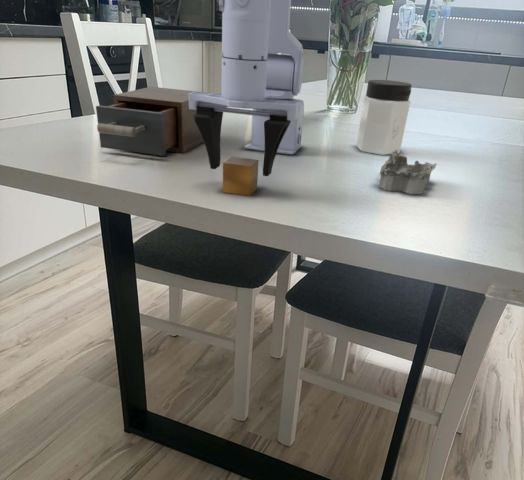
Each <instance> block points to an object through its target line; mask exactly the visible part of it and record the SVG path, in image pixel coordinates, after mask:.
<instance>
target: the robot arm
mask: <svg viewBox="0 0 524 480" xmlns="http://www.w3.org/2000/svg"><path fill="white" fill-rule="evenodd" d="M218 7H219V12H221V13H222V14H221V17H222V18H221V88H220V89H221V92H220V93H219V92H218V93H217V92H207V93H203V92H204V91H197V92H191V93H189V109H192V110H197V112H196V114H195V115H194V121H195V123H196V125H197V127H198V129H199V131H200V133H201V135H202V138H203V140H204V142H203V143H204V145H205V149H206V153H207V157H208V161H209V167H210V169H212V170H216V169H218V168H219V167H221V136H222V135H221V133H222V123H223V117H224V116H223V115H224V113H227V114H228V113H229V114H238V115H246V116H251V138H250V142H248V143H247V144H245V145H244V146H243V147H244V149H245V150H251V151H252V150H253V151H260V152H264V154H263V164H262V176H263V177H269V176H270V175H271V174H272V171H273V170H272V169H273V166H274V162H275V158H276V155H277V154H284V155H295V154H296V152H298V150H300V148H301V147H302V135H303V125H304V117H305V116H304V115H305V103H304V100H302V99H297V98H294V97H296V96H298V95H299V94H300V93H301V90H302V83H303V76H304V75H303V74H304V48H303V44H302V43H301V42H300V41H299V40H298V39H297V38H296V37H295V35H293V33H292V32H291V31H290V24H291V10H292V9H291V8H292V0H218Z"/></svg>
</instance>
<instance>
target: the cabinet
mask: <svg viewBox="0 0 524 480" xmlns="http://www.w3.org/2000/svg"><path fill="white" fill-rule="evenodd" d="M191 92H198V91H197V90H188V89H187V90H186V89H177V88H167V87H158V86H148V87H143V88H138V89H135V90H130V91H125V92H121V93H116V94H113V103H114V104H118V103H122V102H126V101H128V102H136V103H145V104H154V105H163V106H172V107H177V111H178V138H179V144H177V145H175V146H173V147H171V148H169V149H167V150H166V152H170V153H171V152H172V153H178V154H184V153H186V152H188V151H190V150H191V149H194V148H195V147H197V146H199V145H201V144H203V143H204V140H203V138H202V135H201V133H200V131H199V129H198V127H197V125H196V123H195V121H194V115H195V114H196V112H197V110H192V109H189V93H191ZM202 92H203V93H208V92H206V91H205V92H204V91H202ZM114 104H113V105H114Z"/></svg>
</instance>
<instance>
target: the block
mask: <svg viewBox="0 0 524 480" xmlns="http://www.w3.org/2000/svg"><path fill="white" fill-rule="evenodd" d="M259 161H260V160H259V159H254V158H247V157H241V156H240V157H238V156H230V157H229V158H228V159H226V160H225V161H224V162H222V193H226V194H232V195H233V194H234V195H241V196H247V197H249V196H251V195H252V194H253V193H254V192H256V190H257V189H258V181H259V166H260V165H259Z"/></svg>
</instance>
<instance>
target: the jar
mask: <svg viewBox="0 0 524 480" xmlns="http://www.w3.org/2000/svg"><path fill="white" fill-rule="evenodd" d="M366 87H367V88H366V93H365V95H364V96H363V102H362V107H361V113H360V119H359V120H360V121H359V125H358V132H357V139H356V143H355V144H356V147H357V148H358V149H359V150H360V151H361V152H362V153H369V154H375V155H380V156H385V155H391V153H393V151H395V150H397V154H400V152H401V147H402V143H403V137H404V133H405V129H406V125H407V120H408V115H409V109H410V107H411V106H410V105H411V100H410V97H411V93H412V87H413V86H412V84H411V83H409V82H405V81H397V80H387V79H370V80H368V81H367V86H366Z"/></svg>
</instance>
